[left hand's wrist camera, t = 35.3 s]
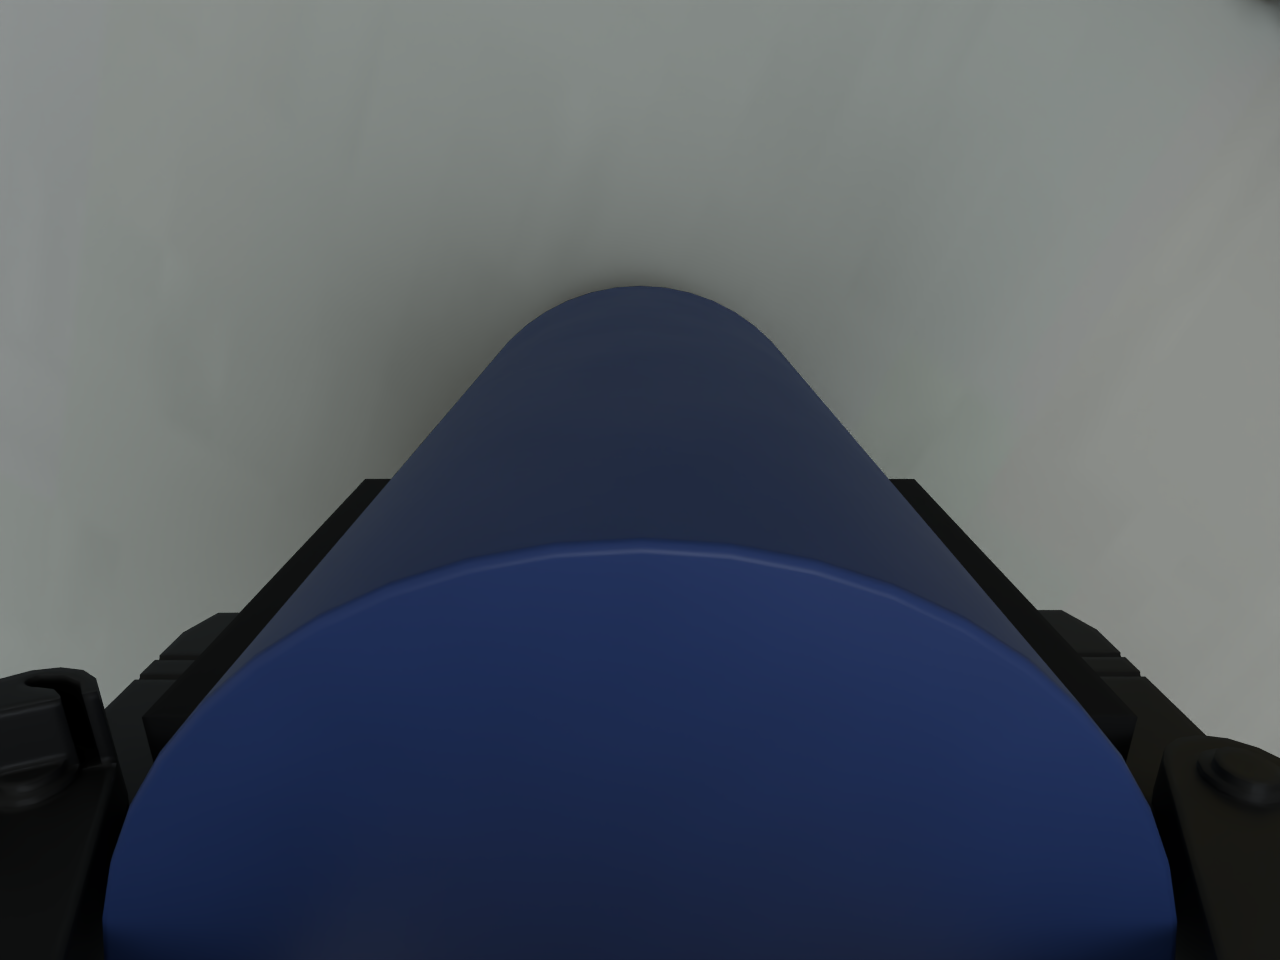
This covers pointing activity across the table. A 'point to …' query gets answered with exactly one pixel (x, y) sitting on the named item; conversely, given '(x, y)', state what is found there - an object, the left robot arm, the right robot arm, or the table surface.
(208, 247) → the table surface
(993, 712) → the canister
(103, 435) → the table surface
